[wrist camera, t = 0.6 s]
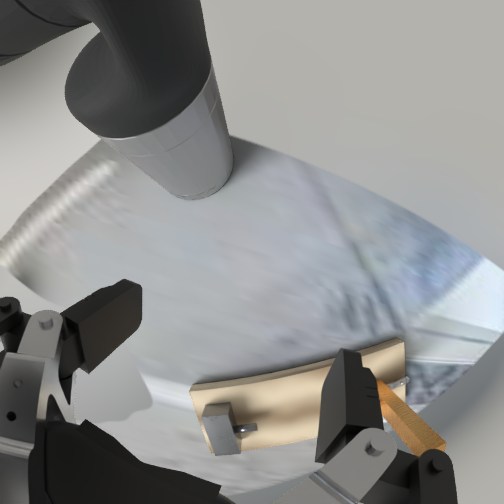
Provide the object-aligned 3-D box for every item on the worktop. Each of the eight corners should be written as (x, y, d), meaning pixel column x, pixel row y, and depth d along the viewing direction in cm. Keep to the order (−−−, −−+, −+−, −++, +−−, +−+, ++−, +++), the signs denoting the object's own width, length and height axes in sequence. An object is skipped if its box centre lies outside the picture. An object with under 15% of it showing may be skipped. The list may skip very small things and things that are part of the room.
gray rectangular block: (205, 404, 28) (200, 417, 25) (251, 398, 28) (251, 411, 25) (218, 441, 28) (215, 455, 25) (261, 436, 28) (262, 450, 25)
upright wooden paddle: (330, 389, 28) (376, 469, 13) (406, 363, 27) (481, 413, 13) (334, 416, 27) (374, 498, 13) (407, 390, 27) (472, 446, 13)
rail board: (192, 384, 30) (188, 391, 28) (396, 337, 30) (403, 341, 28) (213, 444, 30) (211, 453, 28) (398, 401, 29) (404, 407, 27)
